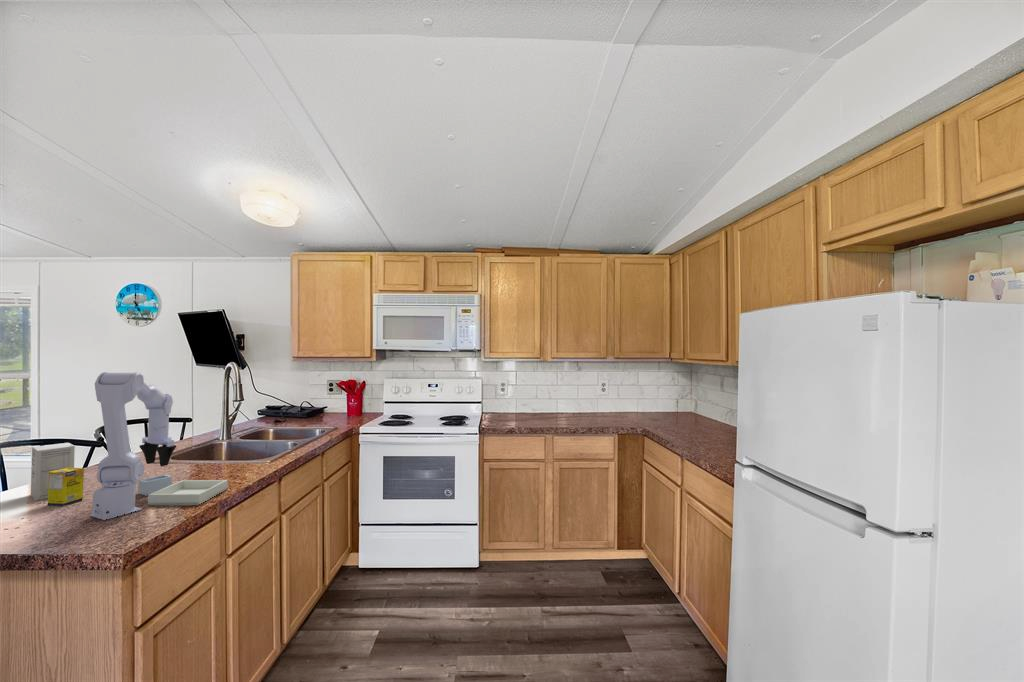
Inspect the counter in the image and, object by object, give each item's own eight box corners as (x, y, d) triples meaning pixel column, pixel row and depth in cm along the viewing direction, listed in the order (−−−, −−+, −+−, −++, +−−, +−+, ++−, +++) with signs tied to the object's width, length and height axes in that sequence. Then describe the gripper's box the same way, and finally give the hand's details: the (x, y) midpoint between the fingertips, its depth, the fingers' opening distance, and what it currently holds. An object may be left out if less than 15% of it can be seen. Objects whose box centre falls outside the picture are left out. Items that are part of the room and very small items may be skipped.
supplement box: (83, 500, 144) (84, 467, 145) (63, 506, 138) (64, 472, 139) (67, 499, 145) (69, 466, 145) (46, 505, 139) (48, 471, 139)
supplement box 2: (68, 488, 156) (70, 441, 157) (74, 493, 151) (76, 445, 151) (29, 495, 148) (31, 446, 149) (34, 500, 143) (36, 450, 144)
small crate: (145, 496, 149) (146, 482, 149) (137, 494, 151) (138, 480, 151) (171, 490, 157) (172, 476, 157) (163, 488, 159) (164, 474, 159)
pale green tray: (199, 505, 142) (199, 494, 142) (147, 505, 140) (148, 494, 140) (227, 489, 158) (227, 479, 158) (181, 489, 156) (182, 480, 156)
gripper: (183, 426, 157) (182, 463, 156) (157, 423, 162) (156, 459, 161) (162, 430, 150) (161, 468, 150) (136, 426, 155) (134, 464, 155)
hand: (157, 464), depth 155 cm, fingers open, 7 cm apart
